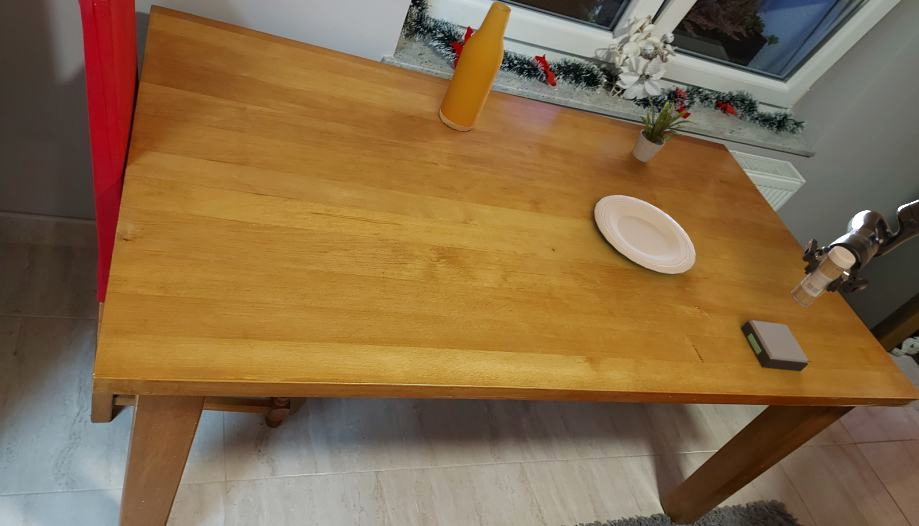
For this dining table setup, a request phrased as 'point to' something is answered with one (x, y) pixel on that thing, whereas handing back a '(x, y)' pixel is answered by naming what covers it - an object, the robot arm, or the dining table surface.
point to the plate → (644, 234)
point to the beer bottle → (477, 69)
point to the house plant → (656, 132)
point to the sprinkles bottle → (822, 276)
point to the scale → (774, 345)
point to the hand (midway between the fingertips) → (819, 279)
